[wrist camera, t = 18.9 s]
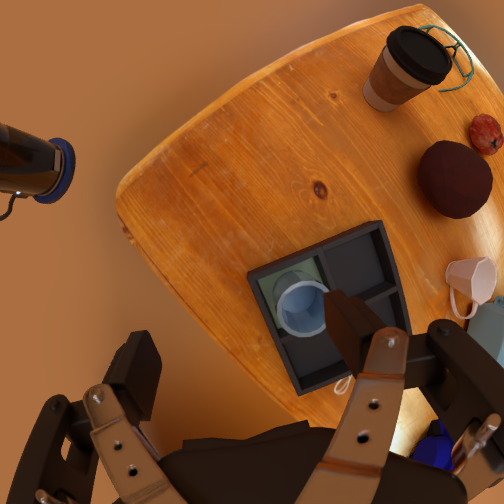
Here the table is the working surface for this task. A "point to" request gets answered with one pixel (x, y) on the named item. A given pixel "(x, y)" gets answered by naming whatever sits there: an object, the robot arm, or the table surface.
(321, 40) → the table surface
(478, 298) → the cup
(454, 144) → the dark brown oval ball
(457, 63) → the sunglasses
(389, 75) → the coffee cup
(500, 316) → the teapot
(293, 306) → the blue cup
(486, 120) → the pomegranate
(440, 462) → the alarm clock
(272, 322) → the black divided tray
